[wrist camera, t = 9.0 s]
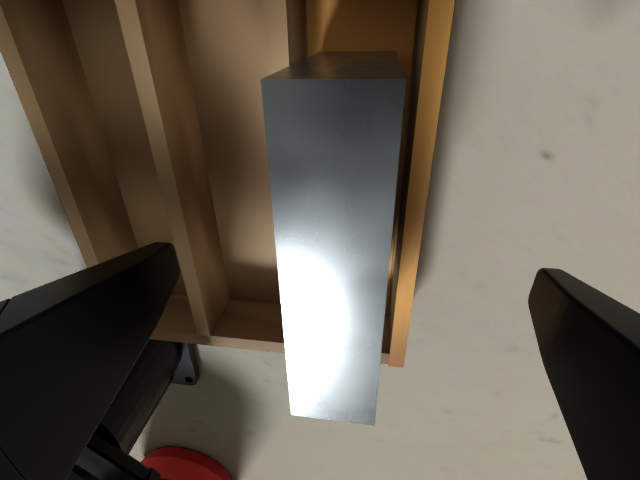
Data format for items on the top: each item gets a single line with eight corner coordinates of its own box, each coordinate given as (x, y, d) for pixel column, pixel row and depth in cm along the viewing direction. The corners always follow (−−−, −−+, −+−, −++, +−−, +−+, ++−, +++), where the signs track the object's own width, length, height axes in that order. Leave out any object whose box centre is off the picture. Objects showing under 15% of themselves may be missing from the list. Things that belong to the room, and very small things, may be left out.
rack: (400, 317, 18) (403, 367, 15) (149, 295, 20) (113, 336, 17) (444, -41, 11) (463, -62, 8) (49, -25, 13) (-38, -38, 10)
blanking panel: (378, 278, 16) (374, 425, 10) (324, 274, 17) (291, 415, 11) (394, 51, 12) (406, 79, 6) (320, 51, 12) (260, 79, 6)
